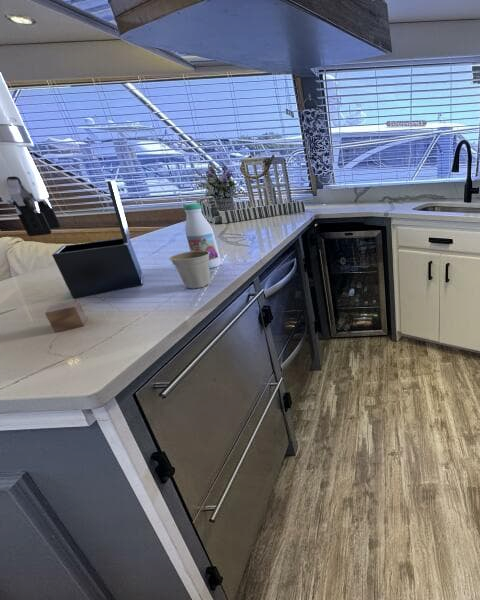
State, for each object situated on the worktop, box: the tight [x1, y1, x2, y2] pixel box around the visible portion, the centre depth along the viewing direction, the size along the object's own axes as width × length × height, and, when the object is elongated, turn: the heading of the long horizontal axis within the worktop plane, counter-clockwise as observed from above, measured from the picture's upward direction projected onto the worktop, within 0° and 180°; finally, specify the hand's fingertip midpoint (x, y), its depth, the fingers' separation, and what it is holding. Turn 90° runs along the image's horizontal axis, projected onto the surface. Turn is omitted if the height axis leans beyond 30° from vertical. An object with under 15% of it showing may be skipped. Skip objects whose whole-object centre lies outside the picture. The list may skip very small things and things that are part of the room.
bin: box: [51, 237, 144, 300], centre depth 89 cm, size 15×13×12 cm
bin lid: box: [106, 180, 131, 243], centre depth 88 cm, size 15×13×1 cm
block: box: [44, 300, 88, 333], centre depth 68 cm, size 4×4×4 cm
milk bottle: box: [182, 202, 222, 269], centre depth 102 cm, size 8×8×20 cm
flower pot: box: [168, 251, 212, 289], centre depth 87 cm, size 9×9×9 cm
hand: (46, 231), depth 66 cm, fingers open, 9 cm apart
